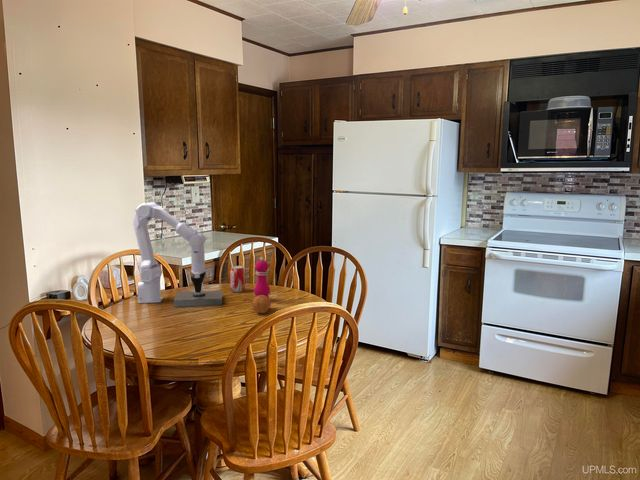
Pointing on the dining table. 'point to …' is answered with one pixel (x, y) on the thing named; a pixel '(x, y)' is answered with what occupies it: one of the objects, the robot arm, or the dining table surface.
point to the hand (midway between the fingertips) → (198, 290)
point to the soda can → (237, 278)
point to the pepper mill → (262, 278)
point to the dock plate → (198, 299)
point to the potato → (261, 304)
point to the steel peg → (199, 293)
